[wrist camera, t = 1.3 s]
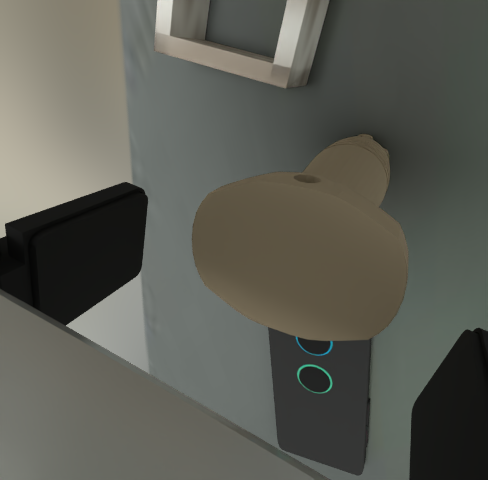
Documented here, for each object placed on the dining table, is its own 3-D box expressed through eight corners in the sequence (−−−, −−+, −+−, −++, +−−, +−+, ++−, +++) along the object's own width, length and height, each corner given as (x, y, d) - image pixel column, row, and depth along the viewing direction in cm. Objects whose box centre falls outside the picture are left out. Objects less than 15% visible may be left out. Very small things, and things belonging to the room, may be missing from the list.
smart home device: (374, 282, 25) (364, 479, 32) (377, 270, 26) (367, 462, 34) (260, 268, 28) (276, 449, 36) (268, 258, 29) (282, 434, 37)
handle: (405, 206, 23) (380, 366, 11) (306, 185, 25) (191, 299, 13) (428, 127, 21) (431, 214, 8) (318, 112, 23) (192, 164, 11)
